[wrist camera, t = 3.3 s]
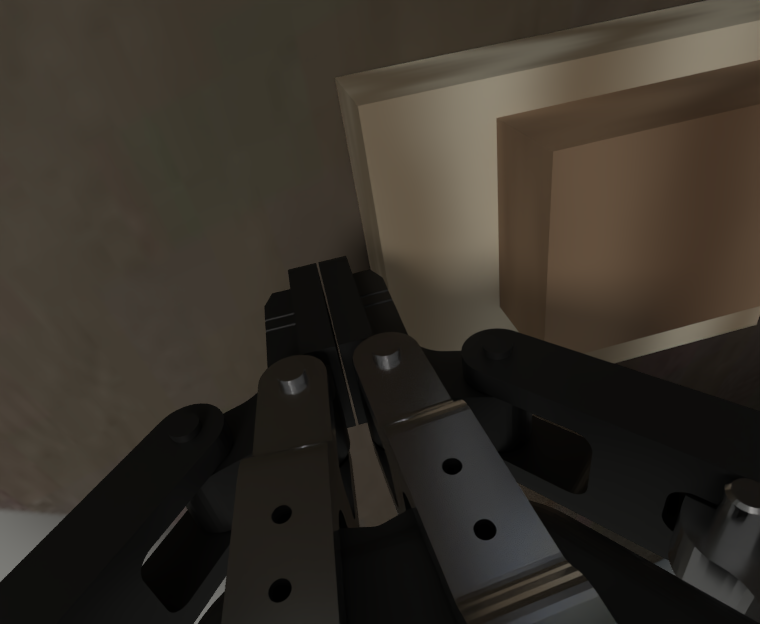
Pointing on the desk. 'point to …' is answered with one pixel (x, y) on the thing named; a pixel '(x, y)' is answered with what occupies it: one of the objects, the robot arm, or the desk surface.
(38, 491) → the desk surface
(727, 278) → the walnut tile
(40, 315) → the desk surface
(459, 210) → the tan flat block
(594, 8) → the desk surface
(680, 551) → the robot arm
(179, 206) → the desk surface
